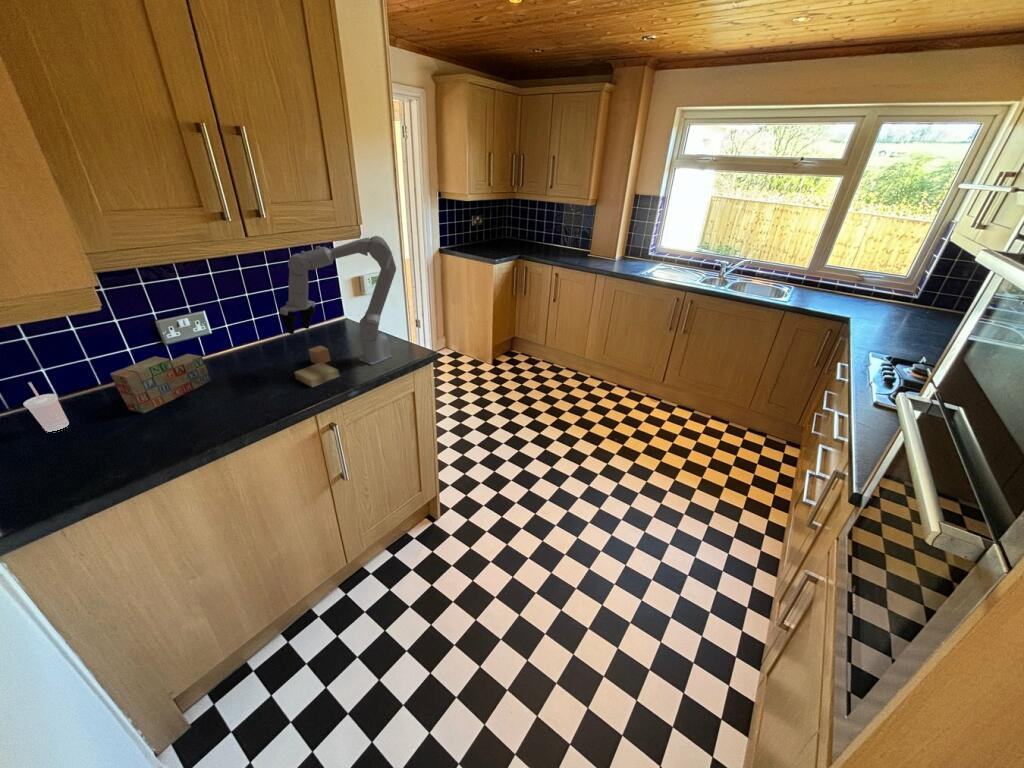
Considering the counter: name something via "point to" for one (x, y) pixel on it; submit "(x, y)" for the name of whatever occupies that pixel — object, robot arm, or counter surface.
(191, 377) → the stack of blocks
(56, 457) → the counter surface
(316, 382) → the oak block
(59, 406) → the beverage cup
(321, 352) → the brown cube
